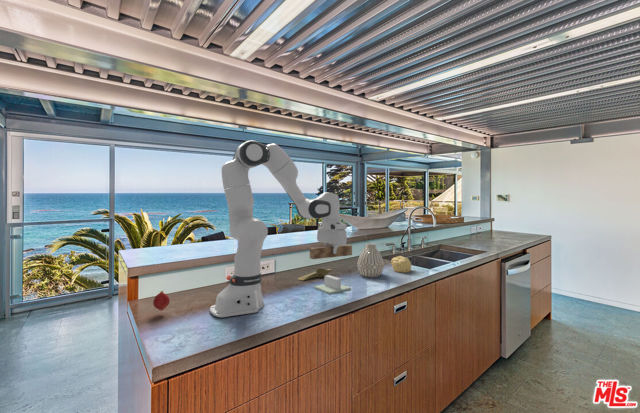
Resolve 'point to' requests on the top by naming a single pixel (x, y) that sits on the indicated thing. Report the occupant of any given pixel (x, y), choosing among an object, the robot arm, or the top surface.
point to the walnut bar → (330, 251)
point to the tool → (315, 274)
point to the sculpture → (401, 264)
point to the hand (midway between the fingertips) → (331, 252)
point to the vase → (370, 261)
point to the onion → (161, 301)
